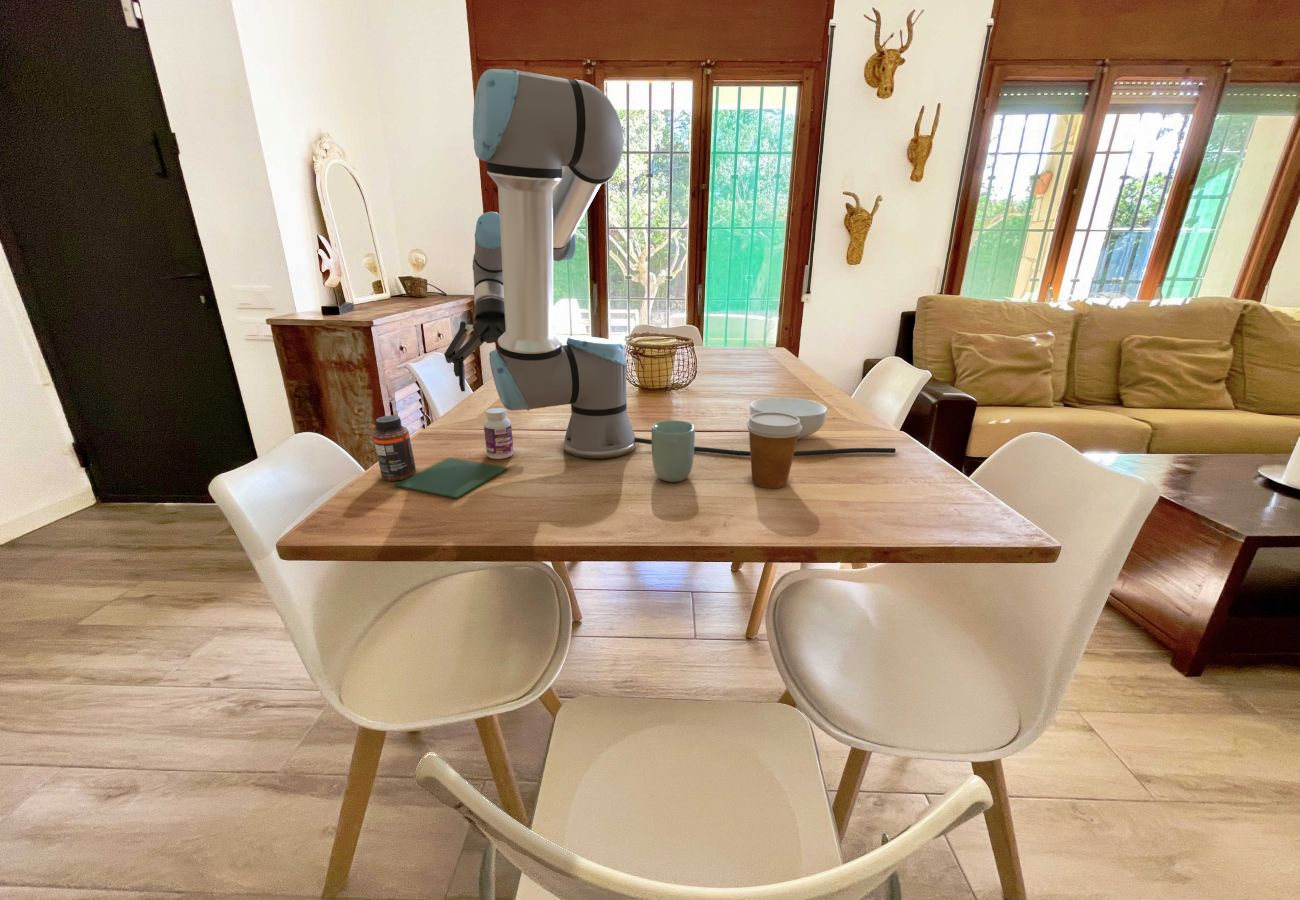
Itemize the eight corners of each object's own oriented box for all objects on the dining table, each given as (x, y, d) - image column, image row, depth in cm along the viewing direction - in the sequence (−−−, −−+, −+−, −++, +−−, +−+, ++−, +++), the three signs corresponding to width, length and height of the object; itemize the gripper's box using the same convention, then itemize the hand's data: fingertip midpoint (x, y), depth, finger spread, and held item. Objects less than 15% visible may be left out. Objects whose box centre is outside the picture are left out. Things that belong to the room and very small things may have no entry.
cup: (693, 470, 99) (695, 420, 96) (692, 487, 92) (694, 434, 88) (653, 469, 100) (653, 419, 96) (649, 485, 93) (649, 432, 89)
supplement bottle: (409, 467, 101) (399, 411, 97) (421, 475, 97) (411, 418, 93) (377, 475, 97) (365, 418, 93) (388, 485, 93) (376, 425, 89)
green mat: (507, 469, 100) (507, 467, 99) (456, 499, 87) (456, 497, 87) (449, 459, 104) (449, 457, 104) (394, 486, 92) (394, 484, 92)
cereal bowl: (832, 431, 121) (835, 402, 119) (811, 452, 108) (815, 420, 106) (763, 419, 130) (765, 392, 127) (736, 438, 117) (738, 408, 114)
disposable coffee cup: (798, 474, 97) (804, 413, 93) (794, 495, 89) (801, 429, 84) (747, 468, 100) (751, 409, 96) (738, 488, 91) (742, 423, 87)
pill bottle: (499, 461, 103) (494, 415, 100) (481, 456, 106) (476, 411, 103) (519, 453, 108) (515, 409, 104) (501, 448, 110) (496, 405, 107)
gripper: (547, 316, 124) (555, 392, 116) (437, 319, 119) (437, 398, 111) (546, 295, 118) (554, 373, 109) (430, 297, 112) (429, 379, 104)
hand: (495, 386), depth 110 cm, fingers open, 13 cm apart
